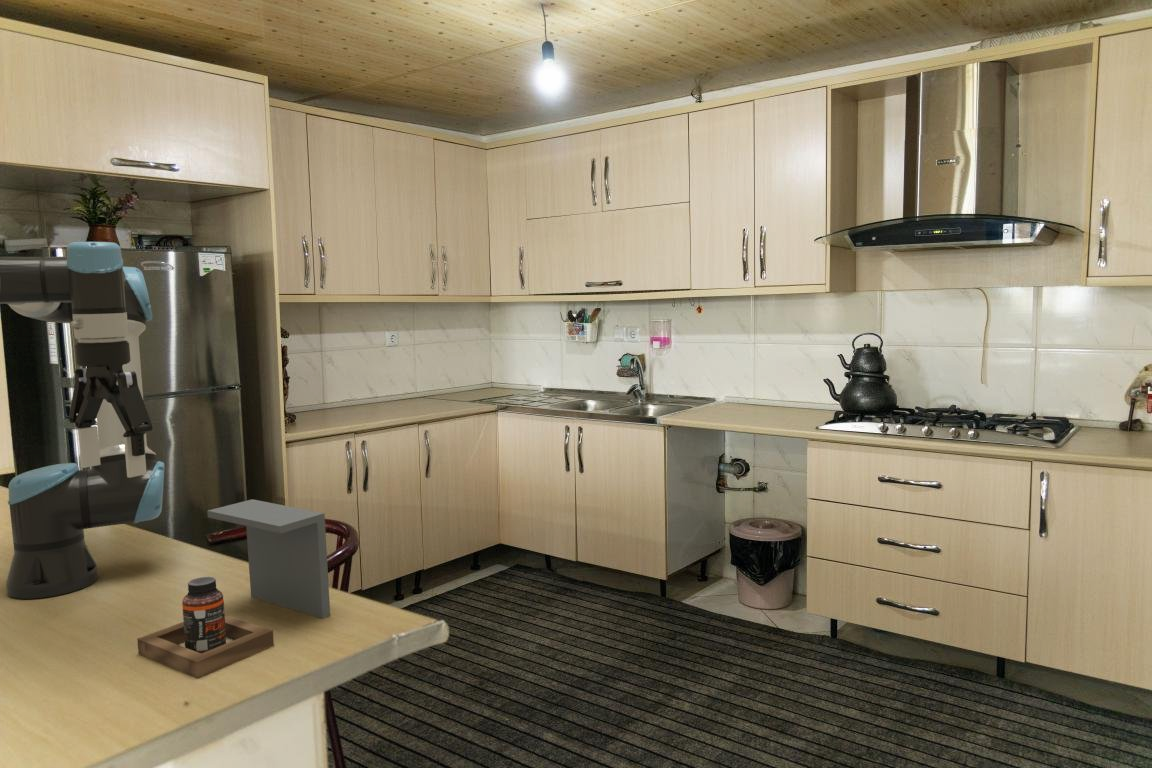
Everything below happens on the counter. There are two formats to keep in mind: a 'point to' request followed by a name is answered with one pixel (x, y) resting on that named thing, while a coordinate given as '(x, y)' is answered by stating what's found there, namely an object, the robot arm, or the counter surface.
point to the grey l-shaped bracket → (284, 554)
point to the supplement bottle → (203, 615)
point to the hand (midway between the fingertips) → (113, 470)
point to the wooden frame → (196, 664)
